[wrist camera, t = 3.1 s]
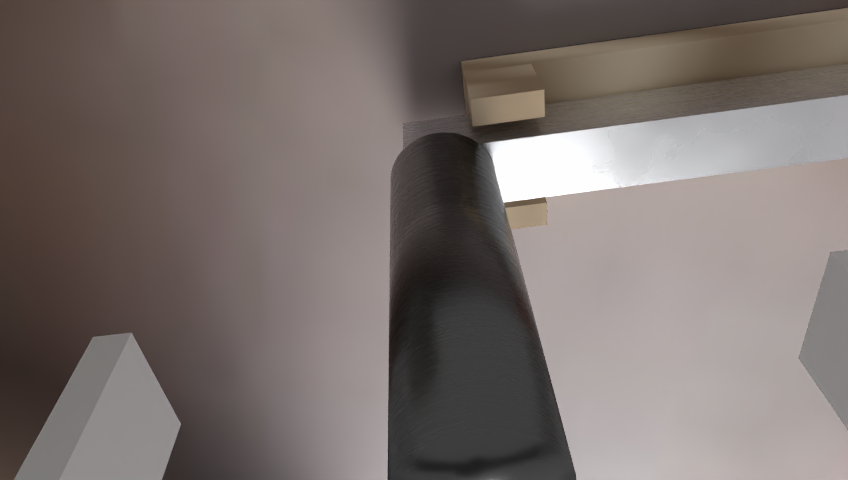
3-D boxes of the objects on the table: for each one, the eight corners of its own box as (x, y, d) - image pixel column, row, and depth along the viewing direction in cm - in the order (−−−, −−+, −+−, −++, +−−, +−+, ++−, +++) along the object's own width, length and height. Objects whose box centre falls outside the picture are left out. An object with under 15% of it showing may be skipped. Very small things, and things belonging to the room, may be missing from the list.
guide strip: (472, 184, 22) (482, 232, 20) (461, 61, 20) (470, 99, 17) (885, 130, 22) (947, 173, 19) (926, -4, 19) (1004, 27, 17)
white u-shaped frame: (405, 216, 23) (414, 595, 12) (376, 50, 19) (353, 373, 9) (919, 150, 22) (1416, 492, 11) (985, -35, 18) (1789, 202, 8)
